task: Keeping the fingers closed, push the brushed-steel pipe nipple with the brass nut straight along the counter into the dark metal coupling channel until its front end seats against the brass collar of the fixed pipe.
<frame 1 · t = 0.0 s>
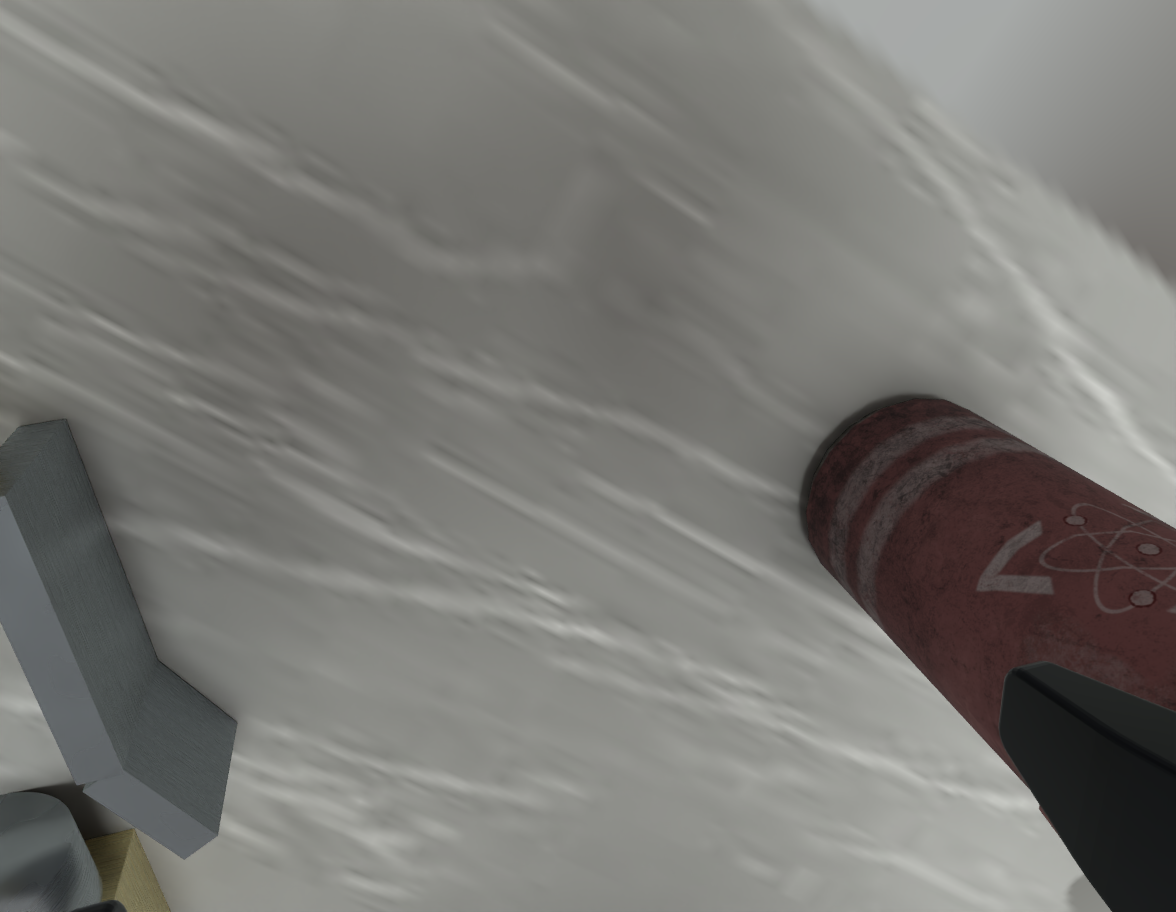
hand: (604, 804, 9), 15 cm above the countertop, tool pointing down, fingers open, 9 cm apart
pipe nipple: (47, 898, 26), on the countertop
can: (885, 488, 27), on the countertop
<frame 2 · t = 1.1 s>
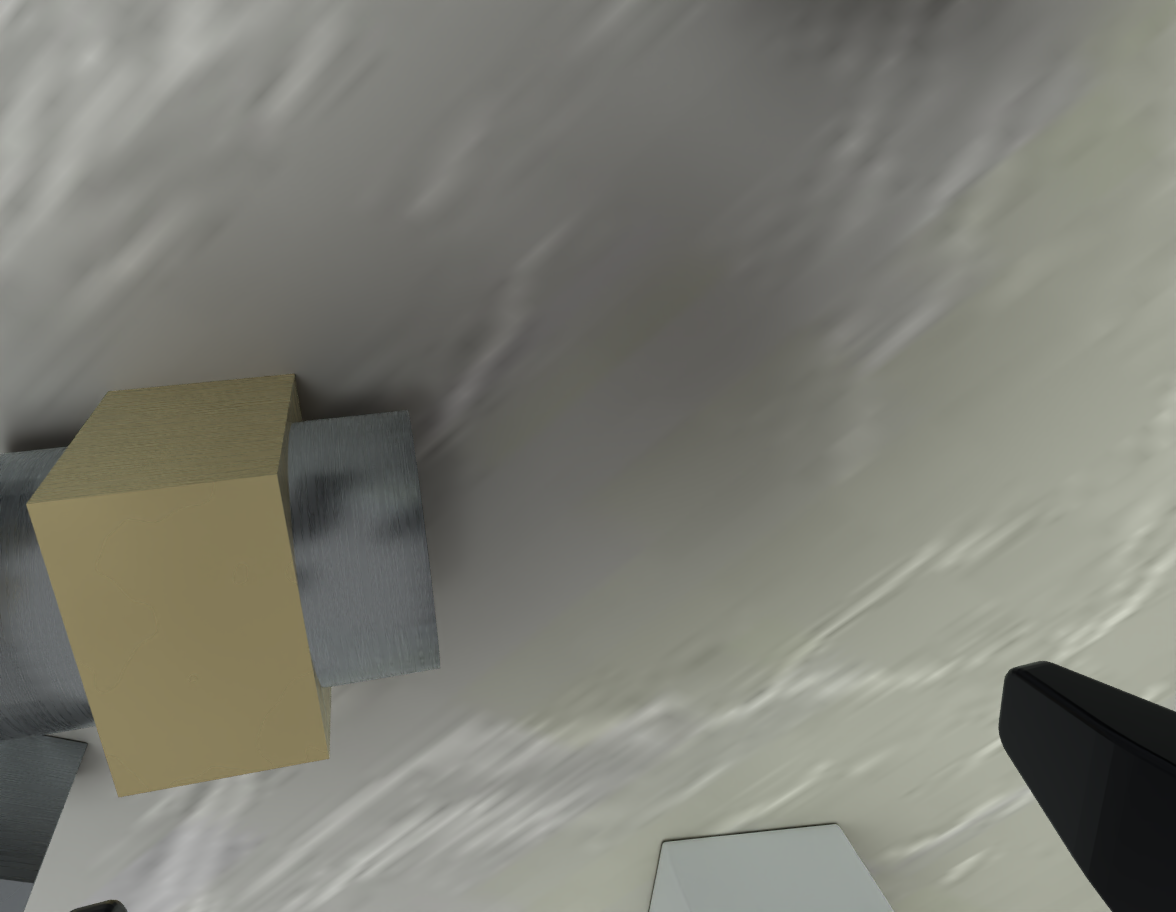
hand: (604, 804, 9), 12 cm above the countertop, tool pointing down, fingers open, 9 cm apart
milk: (732, 896, 29), on the countertop
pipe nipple: (230, 507, 20), on the countertop
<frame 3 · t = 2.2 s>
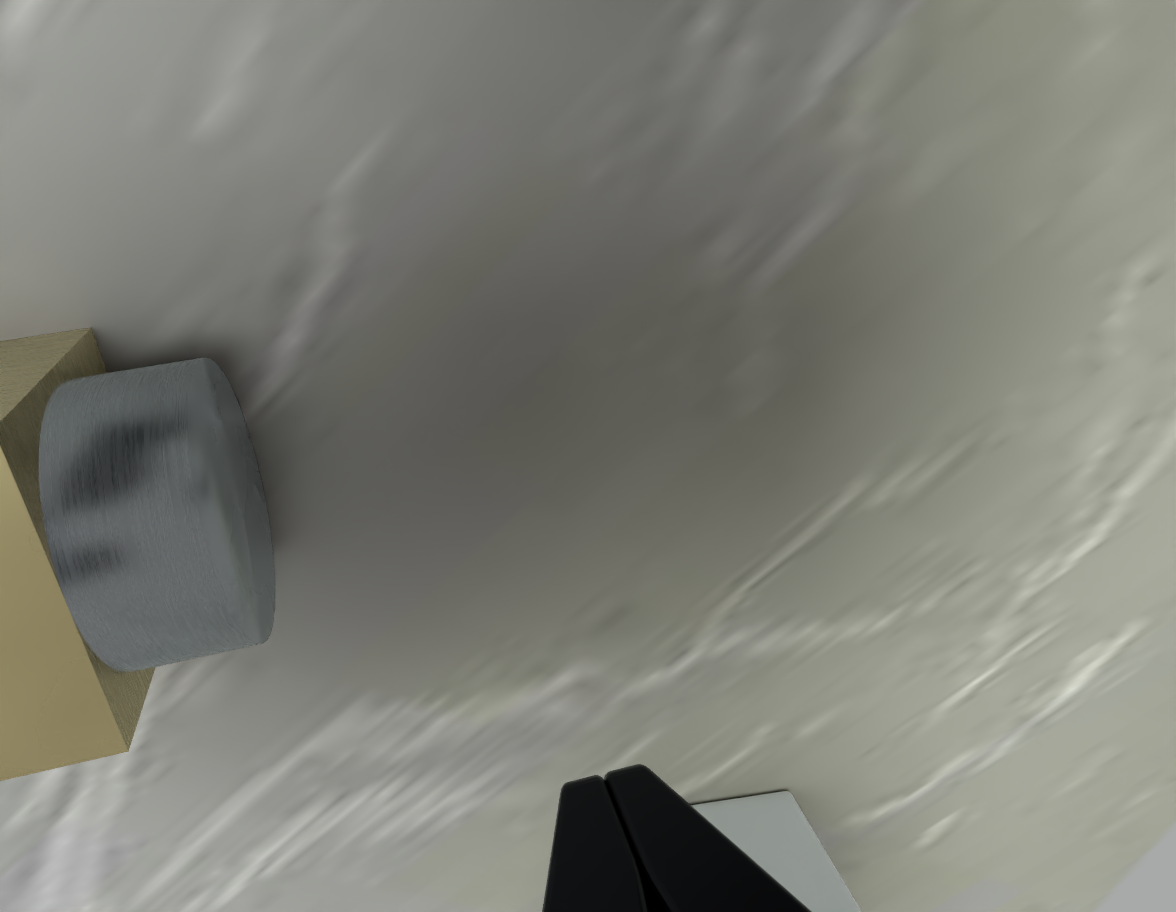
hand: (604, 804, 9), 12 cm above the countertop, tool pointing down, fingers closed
milk: (682, 873, 27), on the countertop
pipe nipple: (44, 482, 18), on the countertop
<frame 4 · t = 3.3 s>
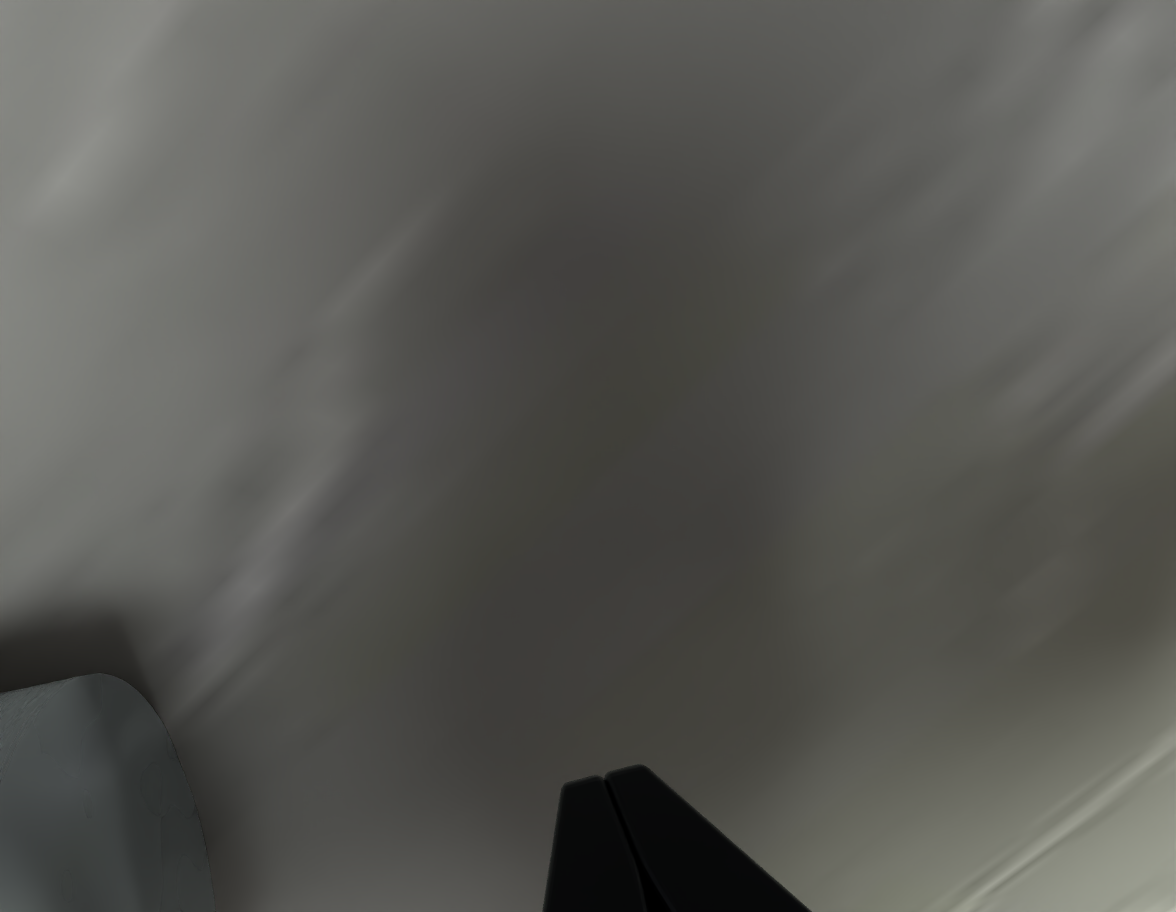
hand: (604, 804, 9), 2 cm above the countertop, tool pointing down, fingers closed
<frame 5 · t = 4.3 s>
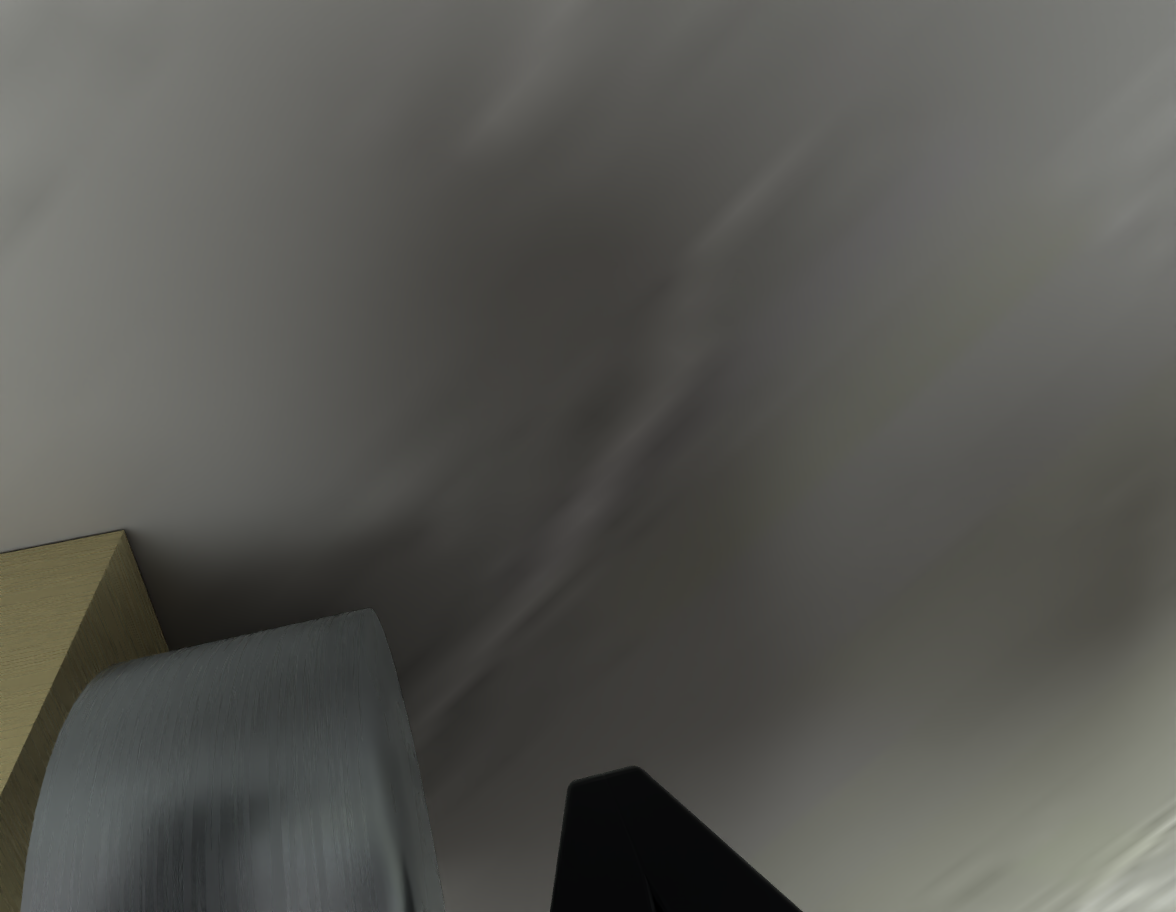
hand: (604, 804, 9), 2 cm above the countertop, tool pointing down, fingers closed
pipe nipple: (34, 795, 10), on the countertop, touching gripper
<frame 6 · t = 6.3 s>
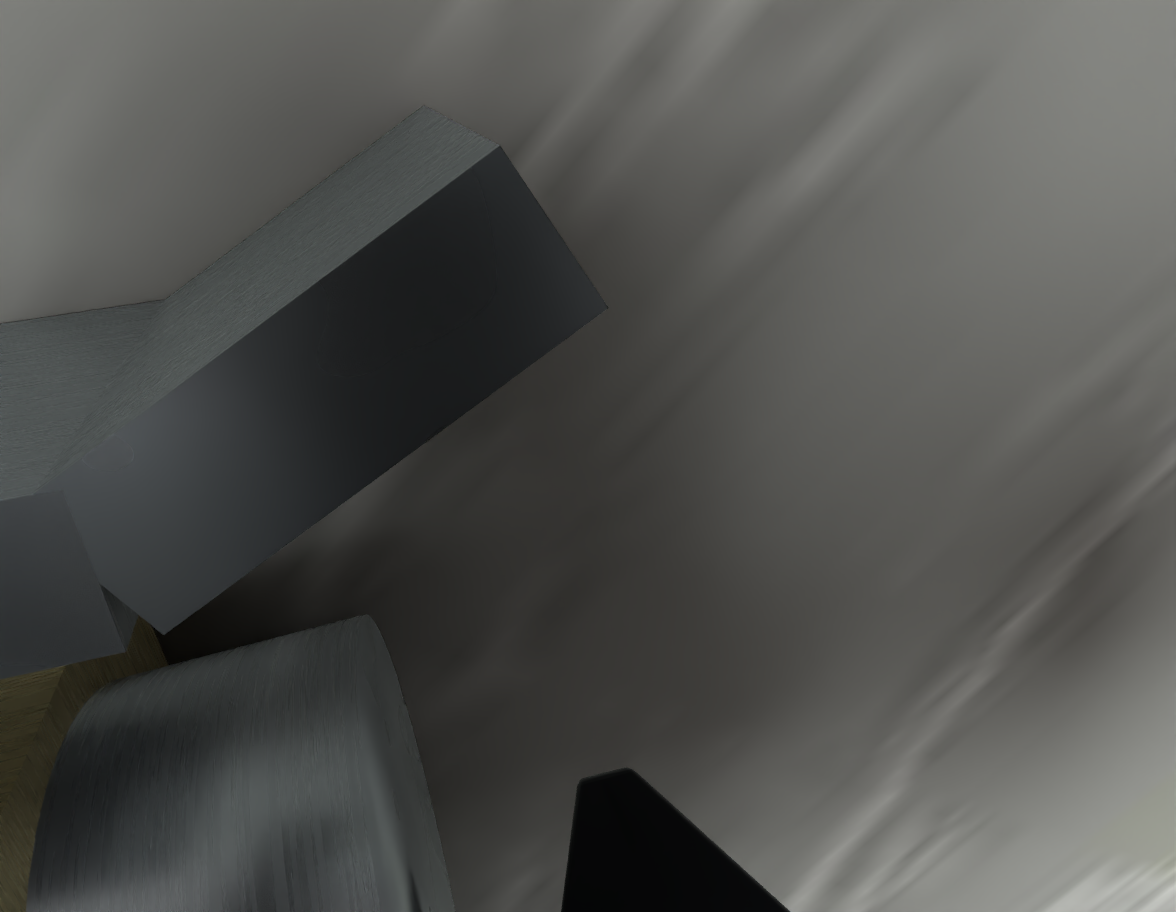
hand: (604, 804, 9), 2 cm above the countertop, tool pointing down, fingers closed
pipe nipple: (40, 813, 10), on the countertop, touching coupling, gripper
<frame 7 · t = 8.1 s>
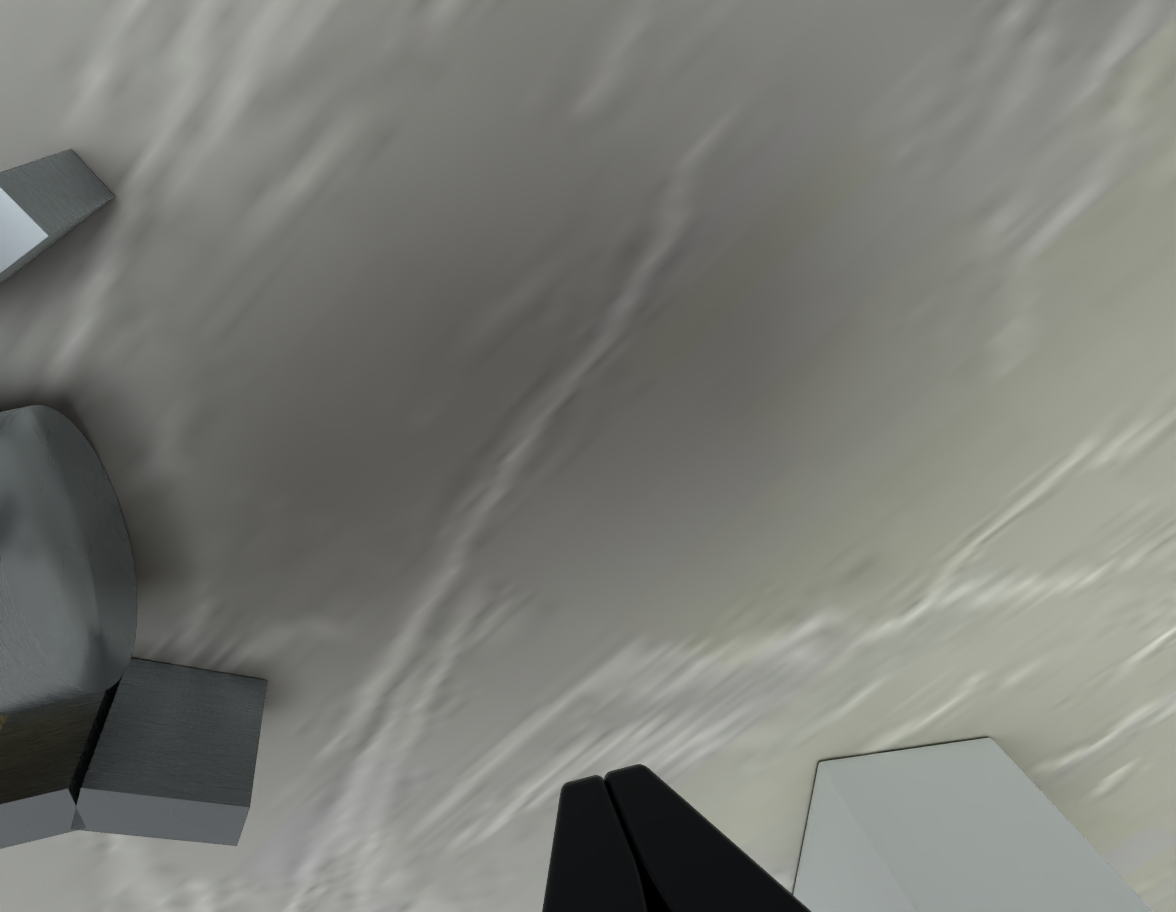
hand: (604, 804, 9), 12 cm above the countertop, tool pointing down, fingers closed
milk: (885, 815, 29), on the countertop
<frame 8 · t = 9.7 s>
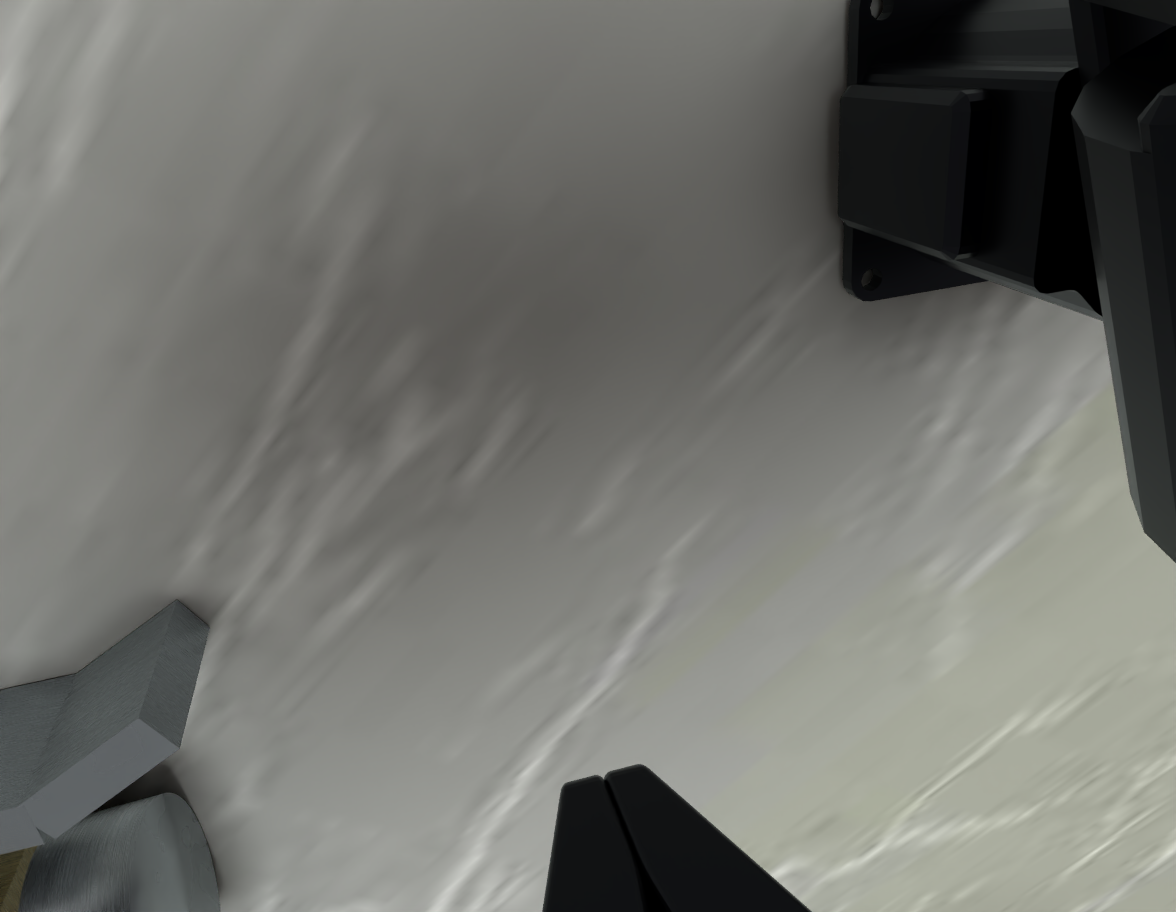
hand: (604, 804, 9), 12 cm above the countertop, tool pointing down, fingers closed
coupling: (1, 872, 22), on the countertop
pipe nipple: (30, 870, 22), on the countertop, touching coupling
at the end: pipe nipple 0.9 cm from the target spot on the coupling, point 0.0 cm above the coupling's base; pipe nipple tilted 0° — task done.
